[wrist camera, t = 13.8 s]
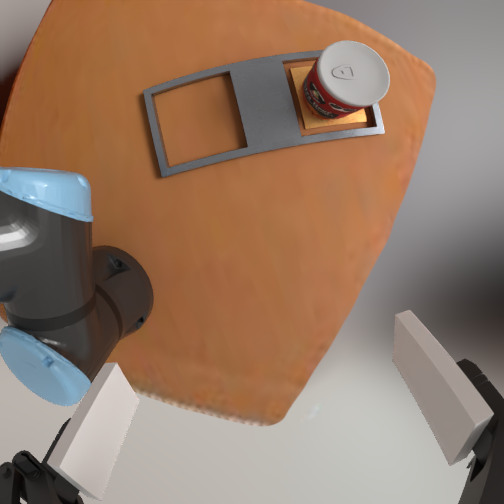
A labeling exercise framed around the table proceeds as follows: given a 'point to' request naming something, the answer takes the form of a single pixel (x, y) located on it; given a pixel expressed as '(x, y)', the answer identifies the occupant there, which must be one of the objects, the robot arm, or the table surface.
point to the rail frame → (261, 109)
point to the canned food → (345, 80)
